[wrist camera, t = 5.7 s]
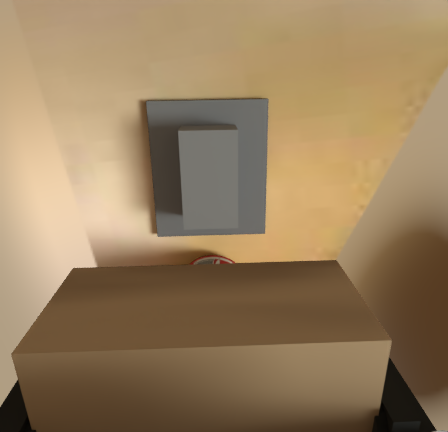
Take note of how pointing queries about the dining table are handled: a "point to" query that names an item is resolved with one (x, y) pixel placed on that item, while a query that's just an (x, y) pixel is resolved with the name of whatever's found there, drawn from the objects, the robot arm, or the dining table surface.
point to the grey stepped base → (209, 166)
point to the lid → (204, 351)
